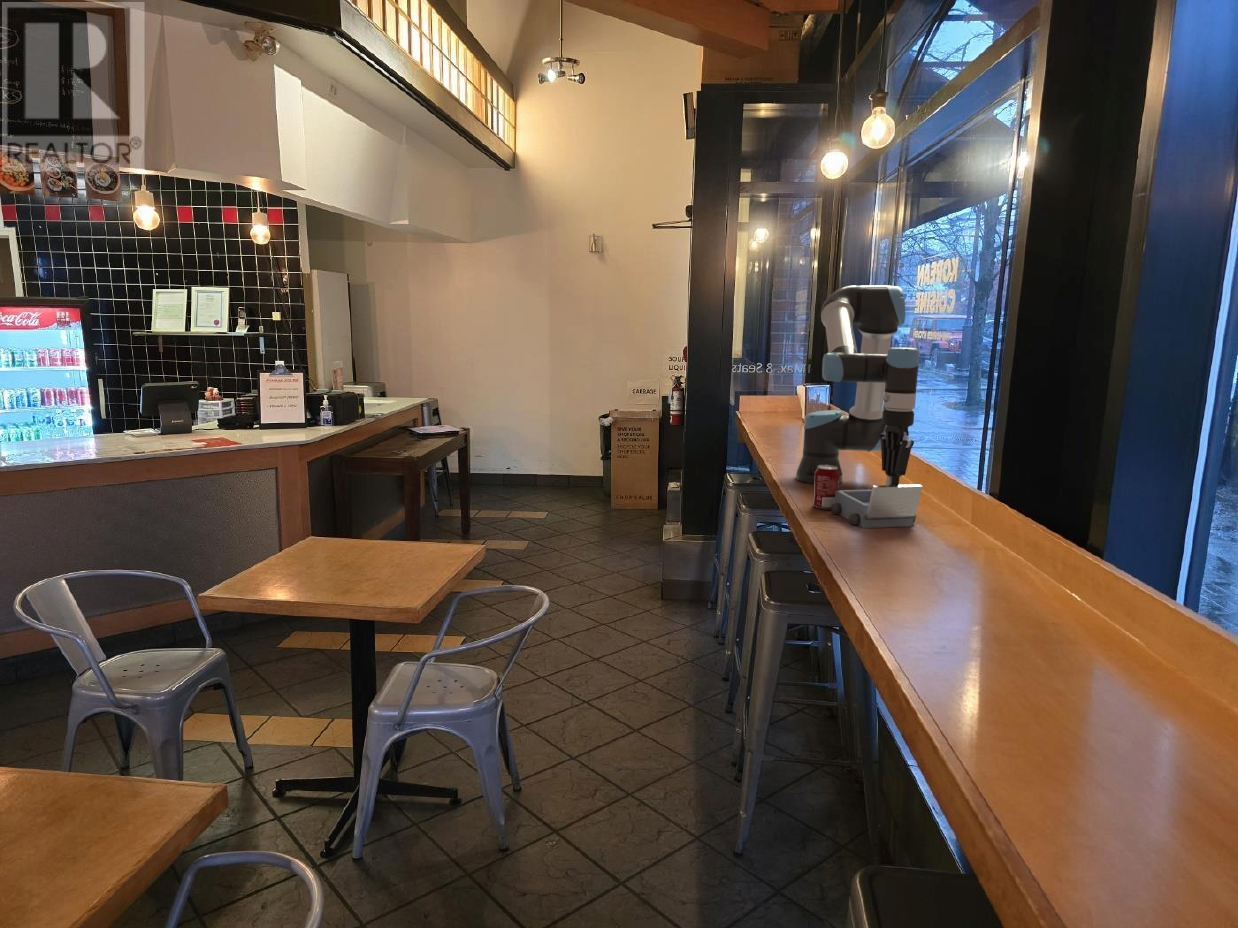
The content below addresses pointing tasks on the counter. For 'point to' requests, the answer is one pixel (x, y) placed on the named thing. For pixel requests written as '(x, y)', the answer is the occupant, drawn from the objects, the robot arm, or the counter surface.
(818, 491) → the soda can
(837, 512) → the box
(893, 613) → the counter surface
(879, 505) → the panel
